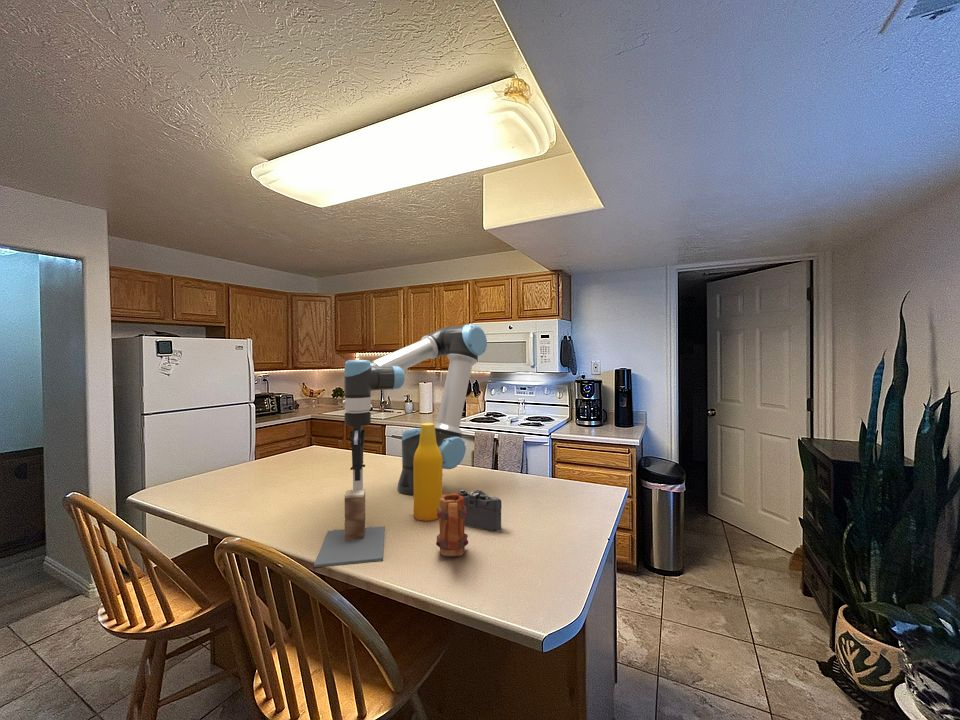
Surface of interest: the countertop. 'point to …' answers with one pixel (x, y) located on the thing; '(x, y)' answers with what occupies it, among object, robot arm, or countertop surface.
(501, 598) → the countertop surface
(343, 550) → the mat
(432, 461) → the beer bottle
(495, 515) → the camera
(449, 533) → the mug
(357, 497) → the block
